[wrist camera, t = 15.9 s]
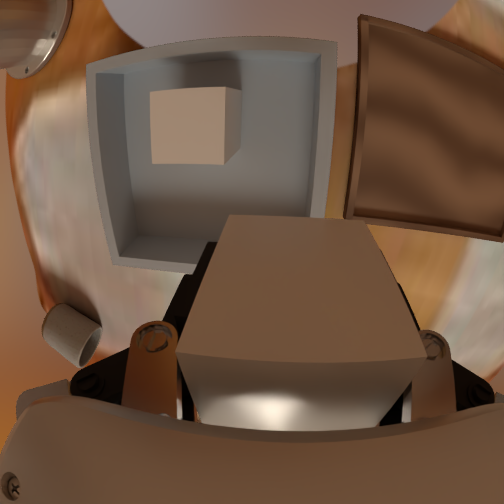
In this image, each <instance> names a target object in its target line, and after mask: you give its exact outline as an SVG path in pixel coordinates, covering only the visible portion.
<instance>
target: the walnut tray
mask: <svg viewBox="0 0 504 504" xmlns="http://www.w3.org/2000/svg"><path fill="white" fill-rule="evenodd" d="M343 218H344V219H347V220H362V221H364V222H365V223H366V224H371V225H380V226H388V227H397V228H405V229H413V230H421V231H429V232H436V233H443V234H450V235H457V236H464V237H471V238H477V239H483V240H489V241H495V242H501V243H503V242H504V70H503V69H502V68H500V67H498V66H497V65H495V64H493V63H491V62H490V61H488V60H486V59H484V58H482V57H480V56H479V55H477V54H475V53H473V52H471V51H469V50H467V49H464V48H462V47H460V46H458V45H456V44H454V43H451V42H449V41H447V40H444V39H442V38H439V37H437V36H434V35H432V34H429V33H426V32H423V31H420V30H418V29H415V28H412V27H409V26H405V25H402V24H399V23H395V22H392V21H388V20H384V19H380V18H376V17H372V16H368V15H363V14H360V16H359V17H358V65H357V91H356V107H355V121H354V133H353V143H352V153H351V162H350V170H349V178H348V185H347V192H346V199H345V206H344V212H343Z"/></svg>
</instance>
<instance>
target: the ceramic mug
mask: <svg viewBox="0 0 504 504" xmlns="http://www.w3.org/2000/svg"><path fill="white" fill-rule="evenodd" d="M101 335H102V327H101V326H100V325H98V324H97V323H95V322H93V321H92V320H90V319H89V318H87V317H86V316H84V315H82V314H80V313H79V312H77V311H76V310H74V309H73V308H72V307H70V306H68V305H66V304H63V303H59V304H57V305H55V306H53V307H52V308H51V309H50V310H49V312H48V313H47V315H46V317H45V318H44V321H43V325H42V336H43V338H44V339H45V340H46V342H47V343H48V344H49V345H50V346H51V347H53V348H54V349H55V350H56V351H58V352H59V353H60V354H61V355H63V356H64V357H65V358H66V359H68V360H69V361H70V362H71V363H73V364H74V365H75V366H77V367H78V368H82V367H84V366H85V365H86V364H87V363H88V362H89V360H90V359H91V357H92V356H93V354H94V352H95V350H96V348H97V346H98V344H99V342H100V339H101Z"/></svg>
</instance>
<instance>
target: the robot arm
mask: <svg viewBox="0 0 504 504" xmlns="http://www.w3.org/2000/svg"><path fill="white" fill-rule="evenodd" d="M71 10H72V0H0V69H4V68H6V70H7V72H8V74H9V75H10V76H11V77H13V78H16V79H21V78H27V77H30V76H32V75H34V74H35V73H37V72H38V71H39V70H40V69H41V68H42V67H43V66H45V65H46V63H47V62H48V61H49V59H50V58H51V57H52V55H53V54H54V52H55V51H56V49H57V48H58V46H59V44H60V42H61V40H62V38H63V36H64V33H65V31H66V29H67V26H68V23H69V19H70V15H71ZM217 243H218V242H210V241H209V242H207V244H206V246H205V248H204V251H203V253H202V255H201V257H200V259H199V261H198V263H197V266H196V268H195V270H194V272H193V274H185V275H184V276H183V278H182V280H181V282H180V284H179V286H178V288H177V290H176V292H175V295H174V297H173V299H172V301H171V303H170V305H169V307H168V309H167V311H166V314H165V316H164V318H163V320H162V321H151V322H148V323H145V324H143V325H141V326H140V327H139V328H137V329H136V331H135V332H134V333H133V335H132V338H131V343H130V347H129V348H127V349H125V350H123V351H120V352H118V353H116V354H114V355H112V356H109V357H107V358H105V359H103V360H101V361H98V362H96V363H94V364H92V365H89V366H87V367H85V368H83V369H81V370H80V371H78V372H77V373H76V374H75V375H74V377H73V378H72V380H71V381H70V382H69V381H68V380H67V379H64V380H61V381H57V382H54V383H51V384H48V385H44V386H40V387H36V388H33V389H29V390H26V391H24V392H23V393H22V394H21V395H20V396H19V398H18V400H17V405H16V415H17V422H16V423H15V425H14V427H13V428H12V430H11V432H10V434H9V436H8V438H7V440H6V442H5V445H4V447H3V449H2V452H1V454H0V504H504V395H502V394H500V393H498V392H496V393H495V394H494V392H493V389H492V387H491V386H490V384H489V383H488V382H486V381H485V380H484V379H482V378H480V377H479V376H477V375H476V374H474V373H472V372H471V371H469V370H468V369H466V368H464V367H463V366H461V365H460V364H458V363H456V362H455V361H453V360H452V359H451V352H450V347H449V344H448V342H447V341H446V339H445V338H444V337H443V336H441V335H440V334H439V333H437V332H435V331H431V330H420V327H419V325H418V323H417V320H416V318H415V316H414V313H413V311H412V309H411V307H410V304H409V302H408V300H407V298H406V296H405V294H404V291H403V289H402V287H401V285H400V284H399V283H397V281H396V279H395V277H394V279H395V281H396V283H397V285H398V287H399V289H400V291H401V293H402V296H403V298H404V300H405V302H406V304H407V307H408V309H409V311H410V314H411V316H412V318H413V321H414V323H415V325H416V328H417V330H418V333H419V335H420V338H421V340H422V343H423V345H424V348H425V351H426V353H427V356H428V357H427V358H426V360H425V361H424V363H423V364H422V366H421V368H420V369H419V370H418V372H417V373H416V375H415V376H414V378H413V379H412V381H411V382H410V383H409V385H408V386H407V388H406V389H405V390H404V392H403V393H402V394H401V396H400V397H399V398H398V400H397V401H396V402H395V403H394V405H393V406H392V407H391V408H390V410H389V411H388V412H387V413H386V415H385V416H384V417H383V418H382V419H381V421H380V422H379V423H378V424H377V425H376V426H375V427H370V428H360V429H348V430H330V431H276V430H258V429H245V428H235V427H226V426H218V425H210V424H204V423H198V422H197V409H196V407H195V404H194V402H193V399H192V397H191V394H190V392H189V389H188V386H187V384H186V381H185V378H184V376H183V373H182V370H181V367H180V365H179V362H178V359H177V356H176V353H175V350H176V348H177V345H178V342H179V339H180V337H181V334H182V331H183V329H184V326H185V324H186V321H187V318H188V316H189V313H190V310H191V308H192V305H193V303H194V300H195V298H196V295H197V293H198V290H199V287H200V285H201V282H202V280H203V277H204V275H205V272H206V270H207V267H208V265H209V262H210V260H211V258H212V255H213V253H214V250H215V248H216V245H217ZM380 251H381V250H380ZM381 253H382V251H381ZM382 255H383V253H382ZM383 257H384V255H383ZM384 258H385V257H384ZM385 260H386V259H385ZM386 262H387V261H386ZM387 264H388V263H387ZM388 266H389V265H388ZM389 268H390V267H389ZM390 270H391V269H390ZM391 272H392V271H391ZM392 274H393V273H392ZM393 276H394V275H393Z"/></svg>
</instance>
